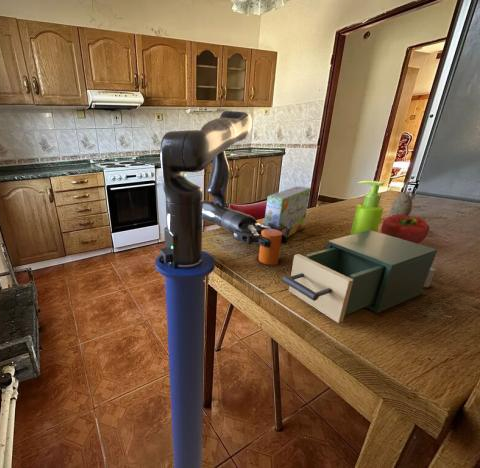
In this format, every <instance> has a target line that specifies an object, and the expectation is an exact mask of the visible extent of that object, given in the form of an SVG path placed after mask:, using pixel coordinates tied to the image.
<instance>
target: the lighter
mask: <svg viewBox="0 0 480 468" xmlns="http://www.w3.org/2000/svg"><path fill="white" fill-rule="evenodd" d="M435 273H436V269H435V268H433V267H431V268H430V271H429V273H428V276H427V278H426V281H425V284H424V286H423V288H429V287H430V285H431V283H432V280H433V278H434V275H435Z"/></svg>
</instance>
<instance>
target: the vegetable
mask: <svg viewBox="0 0 480 468" xmlns="http://www.w3.org/2000/svg"><path fill="white" fill-rule="evenodd" d="M380 231H381V232H380V233H382V234H386V235H389V236H393V237H396V238H399V239H403V240H406V241H410V242H413V243H417V244H420V245H421V243H422V242H423V241H424V240H425V239H426V237H427V236H428V234H429V232H430V225H429V224H428V223H427V222H426V220H425V219H422V218H421V217H414V216H410V215H408V216H407V215H402V214H398V215H394V216H392V215H391V216H388V217H386V218H385V219H383V221H382V224H381V229H380Z"/></svg>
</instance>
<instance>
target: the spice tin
mask: <svg viewBox="0 0 480 468" xmlns="http://www.w3.org/2000/svg"><path fill="white" fill-rule="evenodd" d="M261 236H263V237H265V238H267V239H269V240H270V241H271V245H270V248H266V247H264V246H262V245H260V244H259V251H258V261H259V262H260V263H262V264H263V265H267V266H268V265H269V266H274V265H277V264H279V260H280V252H281V246H282V243H281V239H282V232H281V231H279V230H275V229H264V230H262V231H261Z"/></svg>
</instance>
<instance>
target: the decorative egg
mask: <svg viewBox="0 0 480 468" xmlns="http://www.w3.org/2000/svg"><path fill="white" fill-rule="evenodd" d="M412 209H413V200H412V197H411V195H410V194H409V193H407V192H403V193H401V194H399V195H398V196H397V197H396V198H395V200H394V201H393V202H392V204H391V207H390V211H389V212H390V215H391V217H392V216H394V215H398V214H402V215H407V216H410V214H411V212H412Z"/></svg>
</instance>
